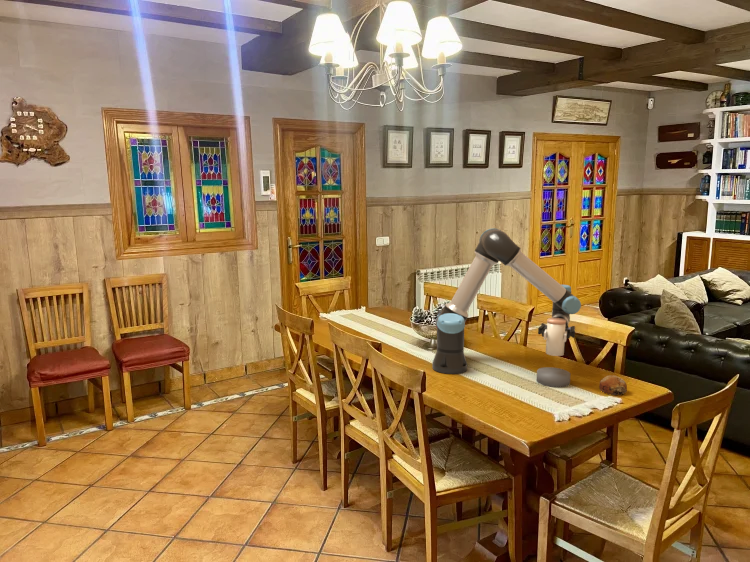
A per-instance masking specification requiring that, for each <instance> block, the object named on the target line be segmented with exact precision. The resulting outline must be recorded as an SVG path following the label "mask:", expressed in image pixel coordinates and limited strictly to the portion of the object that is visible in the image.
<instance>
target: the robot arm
mask: <svg viewBox="0 0 750 562" xmlns="http://www.w3.org/2000/svg"><path fill="white" fill-rule="evenodd" d="M473 252H474V255H475V256H474V258H473V260H472V262H471V263H470V265H469V267H468V269H467V271H466V272H465V275H464V276H463V278H462V280H461V282H460V284H459V286H458V288H457V289H456V291H455V293H454V295H453V296H452V299H451V300H450V302H448V303H445V305H444V306H443V308H442V309H441V311H440V312H439V313H438V315H437V316H436V317H437V318H436V328H437V337H436V352H435V354H434V358H433V360H432V363H431V364H432V365H431V367H432V370H434V371H435V372H437V373H441V374H452V375H454V374H463V373H465V372H467V371H468V361H467V359H466V356H465V349H464V348H465V347H464V346H465V327H466V324H465V323H466V321H467V320H468V317H469V314H468V312H469V311H468V310H469V309H470V307H471V305H472V304H473V301H474V299H475V298H476V296H477V294H478V293H479V290H480V289H481V287H482V285H483V284H484V281H485V280H486V278H487V276H488V274H489V272H490V271H491V269H492V267H493V266H494V265H498V263H499V262H500V263H501V264H503V266H506V267H510V268H512V269H513V270H514V271H515V272H516V273H518V274H519V275H520V276H521V277H522V278H524V279H525V280H526V281H527V282H528V283H529V284H531V285H532V286H533V287H534V288H536V289H537V290H538V291H539V292H541V293H542V294H543V295H544V296H545V297H547V298H548V299H549V300H551V302H552V310H551V318H562V319H565V320H566V326H565V334H564V343H566V342H567V339H570V338H572V339H574V338H576V337H575V336H576V331H575V330H576V329H575V328H576V326H575V325H572V326H569V324H570V320H571V316H570V315H575V314H577V313H578V312H579V311H580V309H581V308H582V303H581V301H580V299H579V298H578V297H577V296H575V295H574V294H572V287H571V286H570V285H568V284H561V283H559V282H558V281H557V280H555V279H554V278H553V277H552V276H551V275H549V273H547V272H546V271H545V270H544V269H543V268H541V267H540V266H539V265H538V264H536V262H534V261H533V260H531V258H530V257H528V256H527V255H526V254H524V253H523V252H522V250H521V247H519V245H518V244H516V243H515V242H514V241H513V239H511V237H510V236H509V235H508V234H507V233H506V232H505V231H503V230H501V229H499V228H488V229H486V230H485V231H483V232H482V234H481V235H480V237H479V242H478V243H477V245H476V247H475V250H474V251H473ZM537 334H538V335H541V336H542V338H543V340H544V341H545V340H546V338H547V323H544V322H543V323H541V324H540V325H539V327H538V329H537ZM466 370H467V371H466Z"/></svg>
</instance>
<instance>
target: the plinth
mask: <svg viewBox="0 0 750 562" xmlns="http://www.w3.org/2000/svg"><path fill="white" fill-rule="evenodd" d="M536 382H537V383H538V384H540V385H543V386H546V387H550V388H565V387H568V386H569V384H570V383H571V372H570V371H567V370H565V369H563V368H558V367H549V366H547V367H540V368H538V369H537V370H536Z"/></svg>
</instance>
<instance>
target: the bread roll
mask: <svg viewBox="0 0 750 562" xmlns="http://www.w3.org/2000/svg"><path fill="white" fill-rule="evenodd" d="M598 385H599V391H600V392H601V391H602V392H601V393H603V392H604V393H603V394H605V393H607V394H606V395H609V394H611V395H610V396H616V395H619V396H622V395H621V394H623V395H624V393H625V394H626V393H627V392H628V387H627V382H626V381H625V380H624V379H623V378H621V377H619V376H617V375H606V376H605V377H602V379H601V380H600V381H599V384H598Z"/></svg>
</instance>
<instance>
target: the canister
mask: <svg viewBox="0 0 750 562" xmlns="http://www.w3.org/2000/svg"><path fill="white" fill-rule="evenodd" d="M546 322H547V323H546V325H547V337H546V342H545V354H546V355H547V356H548V355H549V356H553V357H561V356H564V355H565V354H564V353H565V342H564V334H565V326H566V320H565V319H562V318H552V317H549V318H547V320H546Z"/></svg>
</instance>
